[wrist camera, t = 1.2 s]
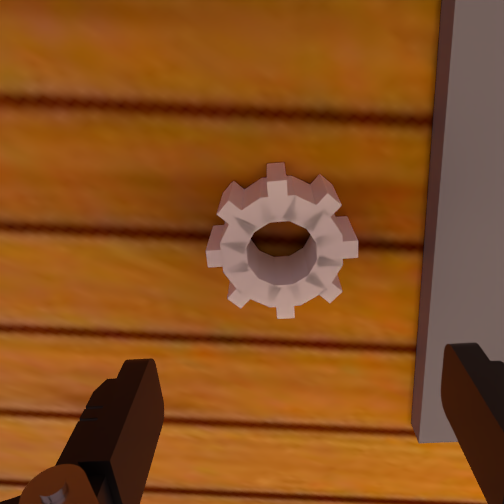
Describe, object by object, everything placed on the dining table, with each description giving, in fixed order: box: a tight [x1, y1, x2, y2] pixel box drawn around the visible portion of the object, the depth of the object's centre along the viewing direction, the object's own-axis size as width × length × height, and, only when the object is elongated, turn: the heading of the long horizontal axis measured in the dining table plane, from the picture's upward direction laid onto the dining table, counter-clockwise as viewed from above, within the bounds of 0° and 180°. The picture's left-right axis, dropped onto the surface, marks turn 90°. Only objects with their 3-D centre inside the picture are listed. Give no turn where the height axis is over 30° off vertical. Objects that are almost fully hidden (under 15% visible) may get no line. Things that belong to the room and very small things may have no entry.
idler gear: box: [206, 162, 358, 319], centre depth 21 cm, size 6×6×3 cm
